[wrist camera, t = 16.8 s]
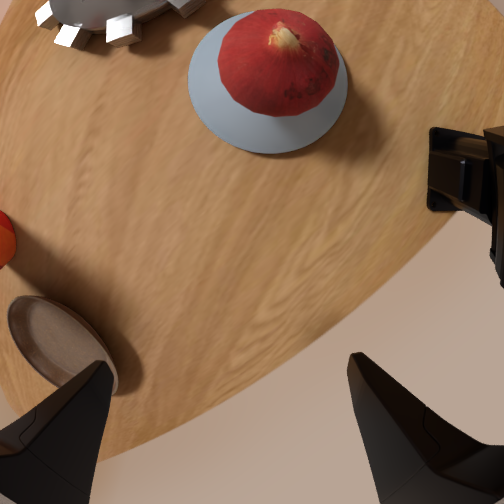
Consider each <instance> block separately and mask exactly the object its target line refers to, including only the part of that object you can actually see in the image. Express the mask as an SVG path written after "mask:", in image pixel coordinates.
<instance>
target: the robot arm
mask: <svg viewBox="0 0 504 504" xmlns="http://www.w3.org/2000/svg"><path fill="white" fill-rule="evenodd" d="M435 131H436V133H437V135H436V136H435ZM483 132H484V137H483V136H479V135H475V134H470V133H465V132H461V131H456V130H450V129H445V128H439V127H432V128H431V129H430V131H429V166H428V192H427V208H428V209H430V210H432V211H465V212H467V213H469V214H471V215H473V216H475V217H477V218H479V219H480V220H482V221H484V222H485V223H487V224H489V225H491V226H492V246H491V248H490V258H491V259H492V261H493V262H494V264H495V269H496V272H497V274H498V276H499V278H500V280H501V281H500V285H501V286H502V287H503V288H504V126H500V127H494V128H489V129H484V130H483ZM433 202H434V204H433V206H432V203H433ZM347 376H348V381H349V386H350V392H351V398H352V402H353V408H354V413H355V416H356V419H357V423H358V426H359V429H360V433H361V436H362V439H363V443H364V446H365V449H366V453H367V456H368V460H369V464H370V467H371V471H372V474H373V478H374V482H375V486H376V490H377V493H378V498H379V502H380V504H504V445H487V444H484V443H481V442H479V441H477V440H475V439H473V438H472V437H470V436H468V435H467V434H465V433H464V432H462V431H461V430H459V429H457V428H456V427H454V426H453V425H451V424H450V423H448V422H447V421H445V420H444V419H443V418H441V417H440V416H439V415H437V414H436V413H435V412H434V411H432V410H431V409H430V408H429V407H426V405H425V404H424V403H423V402H421V401H420V400H419V399H418V398H416V397H415V396H414V395H413V394H412V393H410V392H409V391H408V390H407V389H406V388H405V387H403V386H402V385H401V384H400V383H399V382H397V381H396V380H395V379H394V378H393V377H391V376H390V375H389V374H388V373H387V372H385V371H384V370H383V369H382V368H381V367H379V366H378V365H377V364H376V363H375V362H373V361H372V360H371V359H370V358H368V357H367V356H366V355H365V354H364V353H362V352H357V353H352V354H351V355H350V358H349V362H348V367H347ZM113 384H114V375H113V373H112V371H111V369H110V367H109V365H108V363H107V362H106V361H104V360H95V361H94V362H93V363H91V364H90V365H89V366H87V367H86V368H85V369H83V370H82V371H81V372H79V373H78V374H77V375H76V376H74V377H73V378H72V379H70V380H69V381H68V382H66V383H65V384H64V385H63V386H61V387H60V388H59V389H57V390H56V391H55V392H53V393H52V394H51V395H50V396H48V397H47V398H46V399H44V400H43V401H42V402H41V403H39V404H38V405H37V406H35V407H34V408H33V409H32V410H30V411H29V412H28V413H26V414H25V415H23V416H22V417H21V418H19V419H18V420H16V421H15V422H13V423H11V424H10V425H8V426H7V427H5V428H4V429H2V430H0V504H89V499H90V493H91V487H92V482H93V477H94V472H95V467H96V462H97V458H98V453H99V449H100V445H101V440H102V436H103V432H104V428H105V425H106V421H107V417H108V413H109V408H110V402H111V396H112V390H113Z"/></svg>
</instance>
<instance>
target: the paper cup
mask: <svg viewBox="0 0 504 504" xmlns="http://www.w3.org/2000/svg"><path fill="white" fill-rule="evenodd" d="M15 252H16V236H15V232H14V229H13V226H12V224H11V222H10V220H9V219H8V217H7V216H6V215H5V214H4V213H3V212H2V211H0V269H2V268H3V267H4V266H5V265H6V264H7V263H8V262H9V261H10V260H11V259H12V258H13V256H14V255H15Z"/></svg>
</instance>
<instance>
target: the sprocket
mask: <svg viewBox="0 0 504 504" xmlns="http://www.w3.org/2000/svg"><path fill="white" fill-rule="evenodd" d="M205 3H206V1H205V0H49V1H48V2H47V3H46V4H45V5H44V6H43V7H42V8H40V9H39V10H38V11H37V12H36V18H37V22H38V26H40V27H43V28H46V29H49V30H52V29H53V28H54V27H55V26H57V25H58V24H59V23H60V22H61V23H62V24H64V26H63V27H62V29H61V31H60V33H59V34H58V36H57V38H56V40H55V43H58V44H61V45H64V46H67V47H71V48H74V49H78V50H81V51H83V49H84V47H85V45H86V44H87V42H88V40H89V38H90V37H91V35H92V34H105V33H107V43H109V44H111V45H113V46H115V47H117V48H120V47H123V46H127V45H130V44H133V43H136V42H140V41H142V23H144V22H147V21H149V20H151V19H153V18H155V17H157V16H159V15H161V14H163V13H164V12H166V11H168V10H169V9H171V8H172V9H173V10H175V11H176V12H177V13H178V14H180V15H181V16H182V17H183V18H186V17H188V16H189V15H190V14H192V13H193V12H194V11H195V10H197V9H198V8H200V7H201V6H202V5H204V4H205Z"/></svg>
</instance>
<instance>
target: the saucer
mask: <svg viewBox="0 0 504 504" xmlns="http://www.w3.org/2000/svg"><path fill="white" fill-rule="evenodd" d="M7 323H8V328H9V331H10V334H11V337H12V339H13V341H14V343H15V345H16V346H17V348H18V350H19V351H20V353H21V354H22V356H23V357H24V358H25V360H26V361H27V362H28V363H29V364H30V365H31V367H32V368H33V369H34V370H35V371H36V372H38V373H39V374H40V375H41V376H42V377H43V378H45V379H46V380H47V381H48V382H50V383H51V384H53V385H54V386H56V387H57V388H60V387H61V386H63V385H64V384H65V383H66V382H68V381H69V380H70V379H72V378H73V377H74V376H76V375H77V374H78V373H79V372H81V371H82V370H83V369H85V368H86V367H87V366H89V365H90V364H91V363H93V362H94V361H95V360H104V361H106V362H107V363H108V365H109V367H110V369H111V371H112V373H113V375H114V384H113V390H112V396H113V395H114V394H115V392H116V391H117V388H118V375H117V370H116V367H115V364H114V361H113V359H112V357H111V355H110V353H109V351H108V349H107V347H106V345H105V344H104V342H103V341H102V339H101V338H100V337H99V335H98V334H97V333H96V331H95V330H94V329H93V328H92V327H91V326H90V325H89V324H88V323H87V322H86V321H85V320H84V319H83V318H82V317H81V316H79V315H78V314H77V313H75V312H74V311H73V310H71V309H70V308H68V307H66V306H64V305H62V304H60V303H58V302H56V301H54V300H51V299H48V298H44V297H39V296H19V297H16V298H15V299H13V300H12V301H11V303H10V304H9V306H8V309H7Z"/></svg>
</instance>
